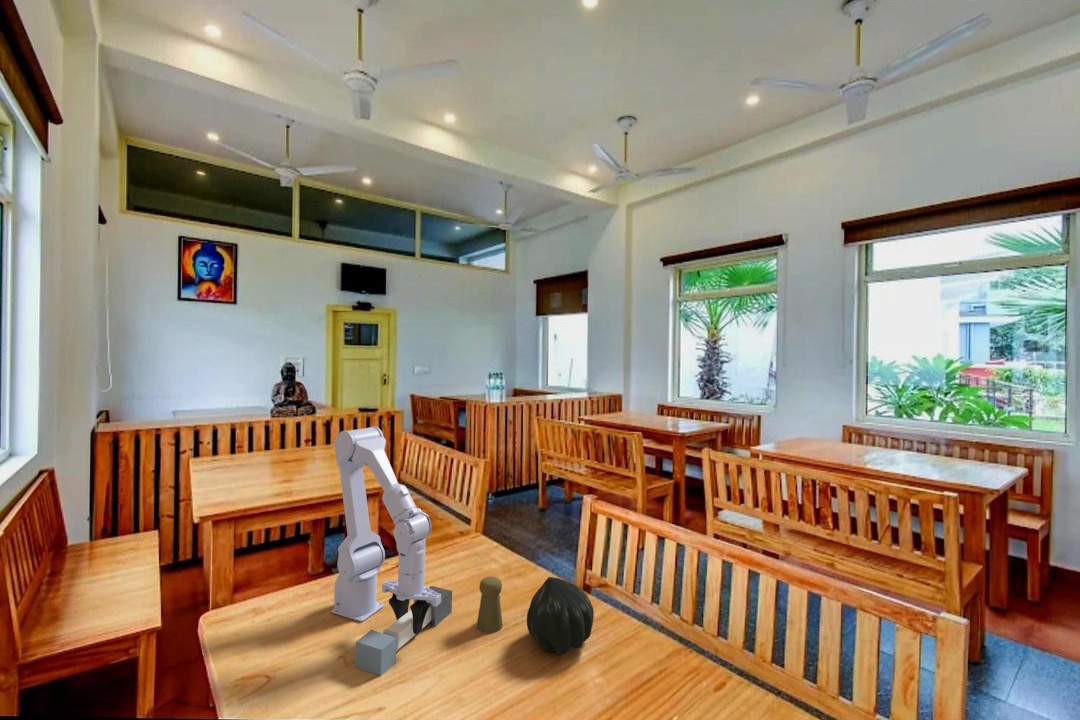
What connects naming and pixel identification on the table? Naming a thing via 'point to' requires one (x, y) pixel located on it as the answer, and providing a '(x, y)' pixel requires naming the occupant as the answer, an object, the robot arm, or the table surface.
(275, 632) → the table surface
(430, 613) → the long white plank
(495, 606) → the olive game pawn
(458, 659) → the table surface
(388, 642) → the socket
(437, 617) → the metal block
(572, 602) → the squash
